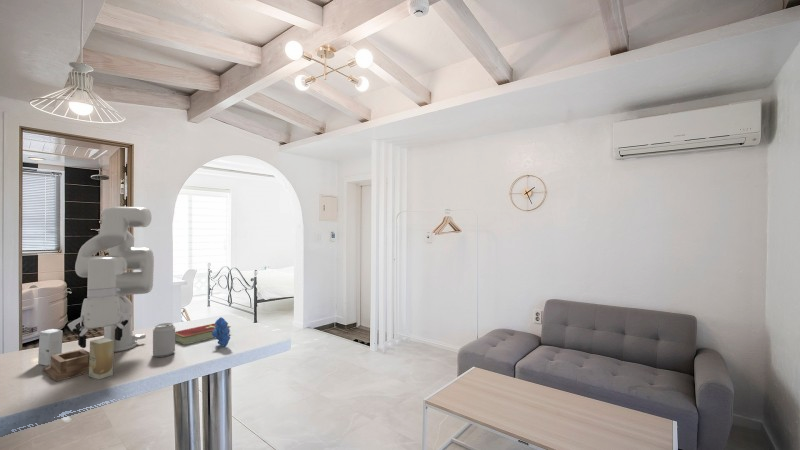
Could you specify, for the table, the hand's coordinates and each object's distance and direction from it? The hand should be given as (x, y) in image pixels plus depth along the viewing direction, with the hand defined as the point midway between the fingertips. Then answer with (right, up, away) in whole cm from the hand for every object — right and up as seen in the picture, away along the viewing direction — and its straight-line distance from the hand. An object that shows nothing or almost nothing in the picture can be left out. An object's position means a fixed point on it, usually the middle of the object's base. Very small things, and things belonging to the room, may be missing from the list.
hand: (100, 343), depth 124 cm
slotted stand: (-14, -11, +5) cm, 19 cm away
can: (+7, -12, +22) cm, 26 cm away
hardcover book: (+10, -12, +45) cm, 48 cm away
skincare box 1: (-29, -11, +12) cm, 33 cm away
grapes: (+25, -12, +32) cm, 42 cm away
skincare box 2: (0, -12, +1) cm, 12 cm away
